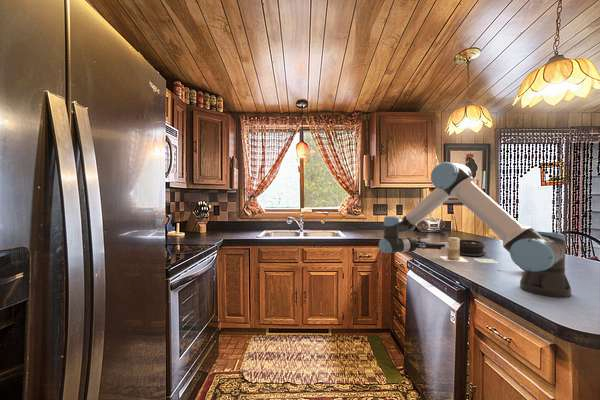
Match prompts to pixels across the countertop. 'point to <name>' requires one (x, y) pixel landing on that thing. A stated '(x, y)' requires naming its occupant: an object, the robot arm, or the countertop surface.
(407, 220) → the robot arm
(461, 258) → the board
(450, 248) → the maple post
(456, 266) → the countertop surface
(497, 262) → the sage pad
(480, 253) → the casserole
